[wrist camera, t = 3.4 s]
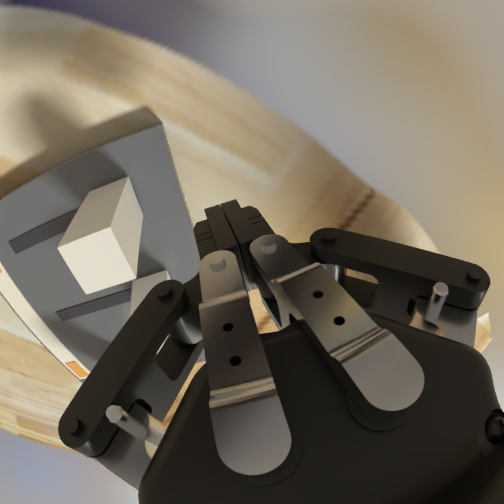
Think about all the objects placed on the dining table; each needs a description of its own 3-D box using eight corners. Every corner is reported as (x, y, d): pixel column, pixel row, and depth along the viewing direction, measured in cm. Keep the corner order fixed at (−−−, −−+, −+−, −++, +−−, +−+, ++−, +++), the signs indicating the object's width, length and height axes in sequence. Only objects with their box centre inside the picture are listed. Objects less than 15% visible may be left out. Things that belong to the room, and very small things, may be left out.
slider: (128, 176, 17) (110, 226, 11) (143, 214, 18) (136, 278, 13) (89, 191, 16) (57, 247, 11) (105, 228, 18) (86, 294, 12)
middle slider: (166, 269, 21) (172, 339, 16) (179, 296, 23) (189, 364, 18) (132, 280, 21) (128, 351, 15) (147, 306, 23) (149, 374, 17)
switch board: (162, 122, 17) (161, 125, 15) (234, 340, 31) (238, 352, 30) (-32, 220, 14) (-41, 229, 13) (88, 377, 29) (87, 388, 27)
